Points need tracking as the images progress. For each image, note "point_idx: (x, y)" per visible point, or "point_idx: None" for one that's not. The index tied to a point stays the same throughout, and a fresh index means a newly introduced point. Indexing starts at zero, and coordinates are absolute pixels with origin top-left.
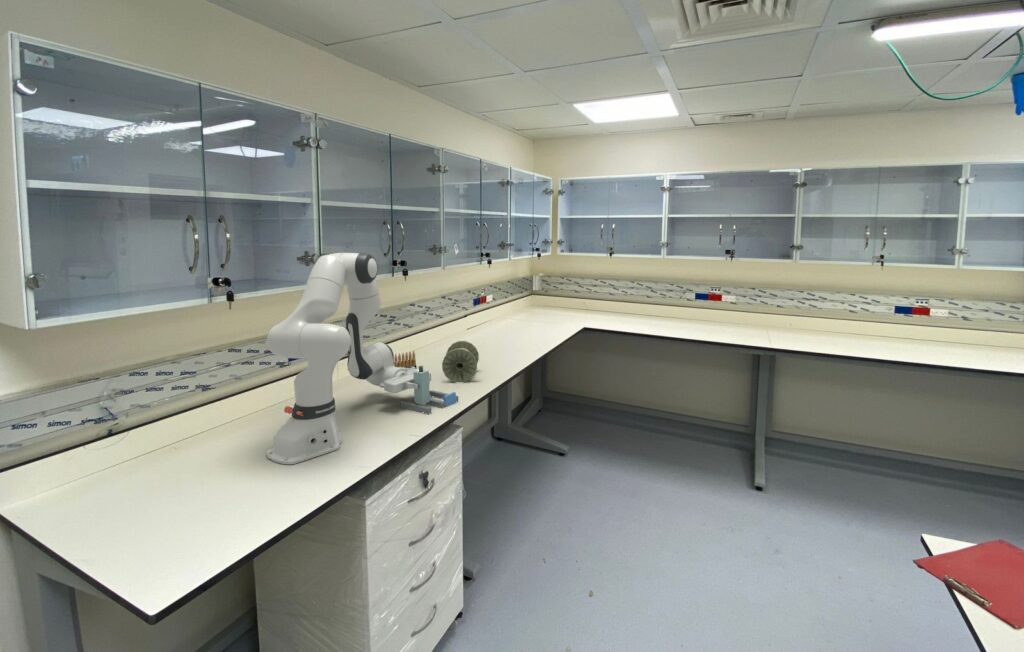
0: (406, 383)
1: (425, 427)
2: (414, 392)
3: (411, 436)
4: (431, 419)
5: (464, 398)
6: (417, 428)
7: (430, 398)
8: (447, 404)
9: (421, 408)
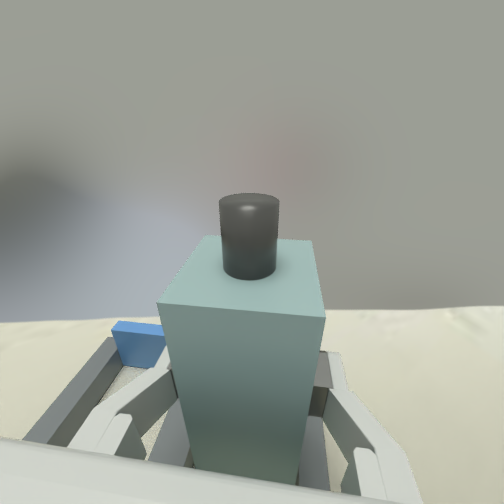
0: (415, 489)
1: (400, 323)
2: (296, 474)
3: (478, 321)
4: (340, 341)
5: (76, 348)
6: (431, 338)
7: (155, 457)
8: None
9: None
